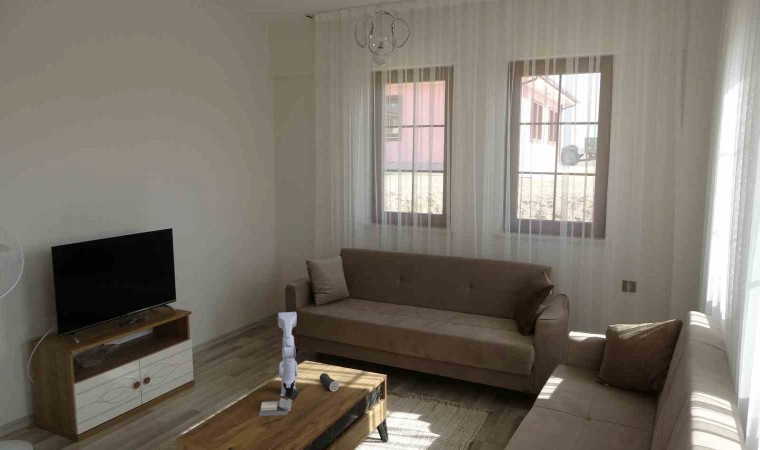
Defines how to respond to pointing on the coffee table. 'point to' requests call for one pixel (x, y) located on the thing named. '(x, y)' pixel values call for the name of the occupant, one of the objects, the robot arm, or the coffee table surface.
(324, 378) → the flashlight
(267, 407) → the cream rectangular block
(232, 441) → the coffee table surface
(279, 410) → the mat
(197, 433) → the coffee table surface
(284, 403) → the mounted block
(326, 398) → the coffee table surface
